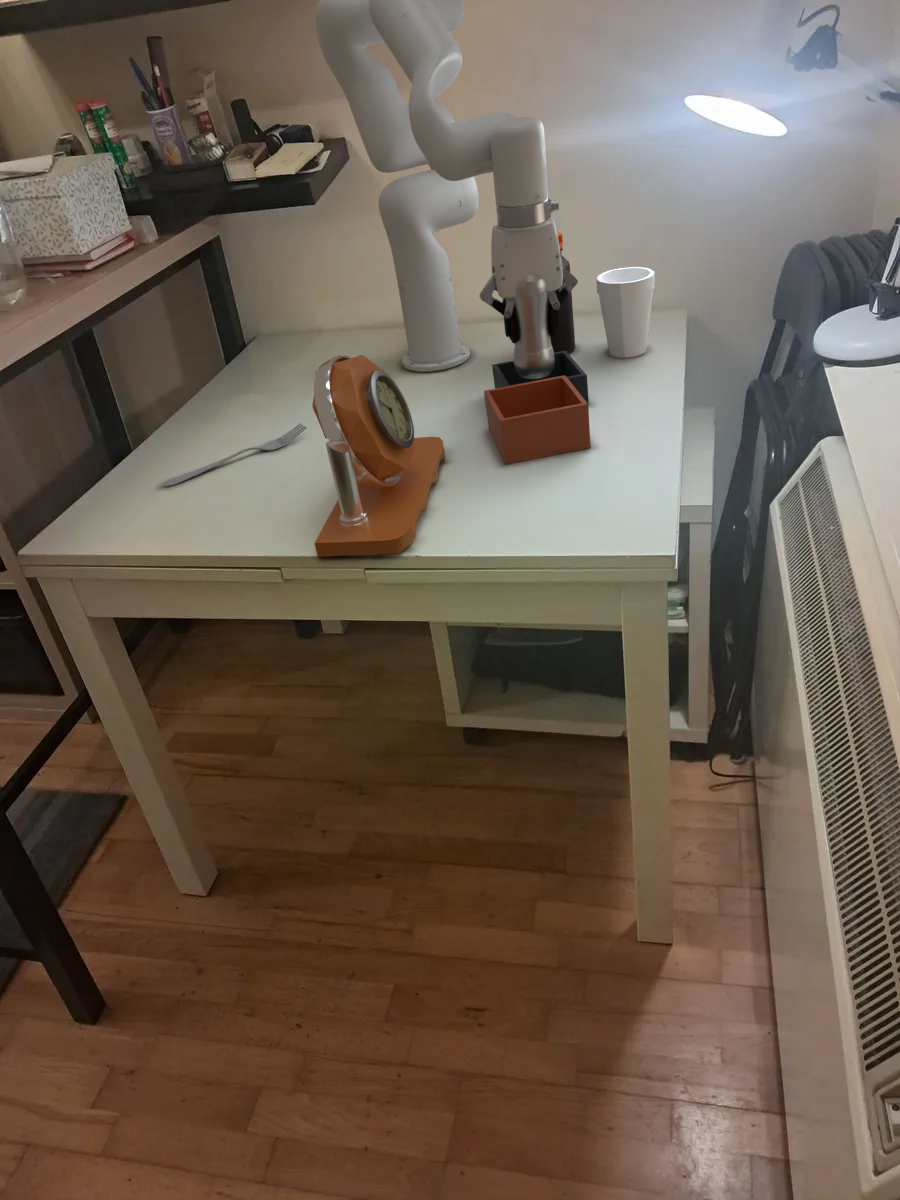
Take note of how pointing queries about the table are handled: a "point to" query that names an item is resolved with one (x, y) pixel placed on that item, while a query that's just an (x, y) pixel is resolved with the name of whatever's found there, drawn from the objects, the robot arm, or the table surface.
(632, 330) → the foam cup
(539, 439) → the terracotta bin
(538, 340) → the metal bottle
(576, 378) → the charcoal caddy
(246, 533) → the table surface
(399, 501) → the desk clock
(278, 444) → the fork
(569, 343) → the vinegar
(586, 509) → the table surface
